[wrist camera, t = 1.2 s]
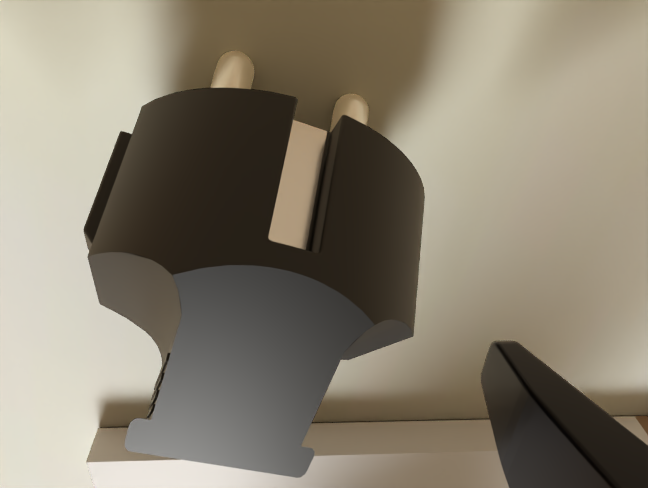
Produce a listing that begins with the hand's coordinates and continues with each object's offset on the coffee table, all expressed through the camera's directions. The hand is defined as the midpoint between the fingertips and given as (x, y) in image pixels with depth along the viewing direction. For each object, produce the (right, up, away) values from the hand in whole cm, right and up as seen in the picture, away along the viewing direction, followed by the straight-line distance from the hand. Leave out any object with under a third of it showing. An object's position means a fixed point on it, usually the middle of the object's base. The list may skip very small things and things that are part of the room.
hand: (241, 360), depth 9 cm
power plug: (-1, +1, +5) cm, 5 cm away
